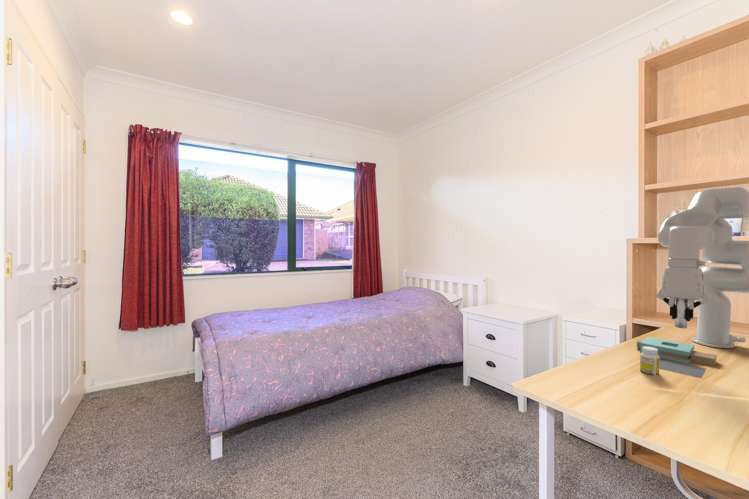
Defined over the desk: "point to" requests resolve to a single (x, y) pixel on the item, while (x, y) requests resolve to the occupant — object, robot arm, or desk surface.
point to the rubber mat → (681, 368)
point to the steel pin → (681, 313)
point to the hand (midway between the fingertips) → (681, 318)
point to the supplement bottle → (649, 361)
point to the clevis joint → (677, 351)
